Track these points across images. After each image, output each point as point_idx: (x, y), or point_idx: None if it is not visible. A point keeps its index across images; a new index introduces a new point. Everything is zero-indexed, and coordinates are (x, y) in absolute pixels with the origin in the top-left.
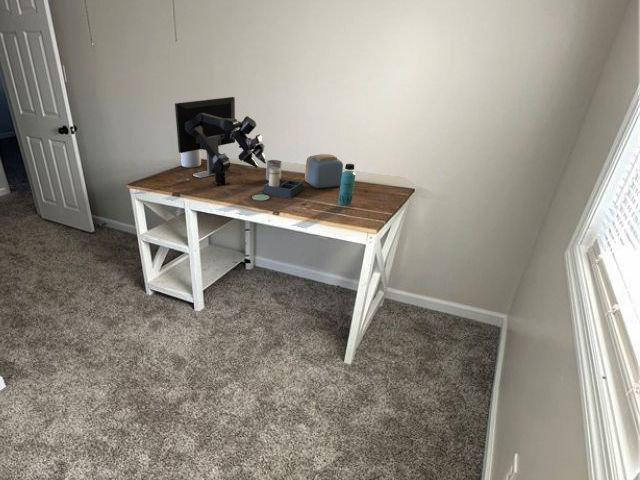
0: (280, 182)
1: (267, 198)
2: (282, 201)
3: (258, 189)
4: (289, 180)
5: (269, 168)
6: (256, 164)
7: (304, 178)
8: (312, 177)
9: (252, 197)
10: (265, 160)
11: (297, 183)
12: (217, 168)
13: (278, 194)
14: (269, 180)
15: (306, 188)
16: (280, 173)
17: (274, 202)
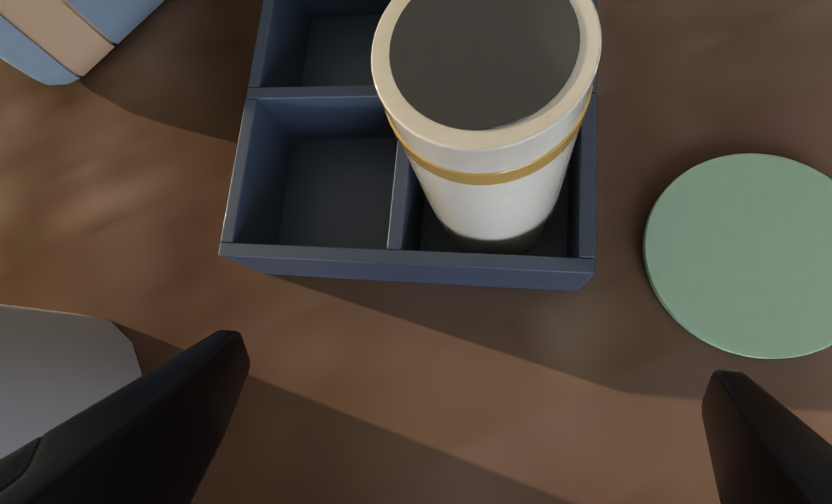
0: (261, 214)
1: (749, 166)
2: (717, 17)
3: (463, 411)
4: (269, 87)
5: (510, 142)
6: (788, 415)
7: (53, 77)
8: None
9: (828, 337)
10: (191, 355)
11: (283, 18)
12: None
13: None
14: (552, 191)
15: (248, 8)
16: (14, 306)
17: (798, 65)
